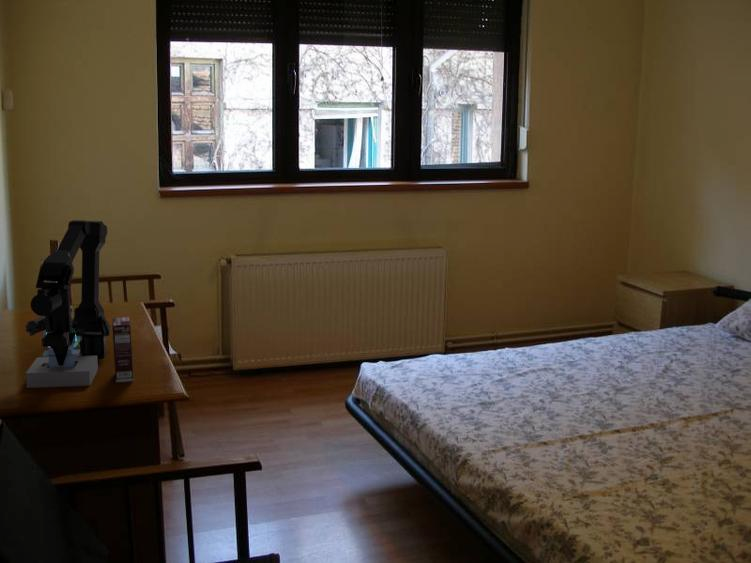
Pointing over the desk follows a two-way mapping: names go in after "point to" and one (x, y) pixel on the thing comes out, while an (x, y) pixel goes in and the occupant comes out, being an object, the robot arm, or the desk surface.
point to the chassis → (62, 373)
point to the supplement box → (122, 349)
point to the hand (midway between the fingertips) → (62, 363)
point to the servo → (68, 360)
